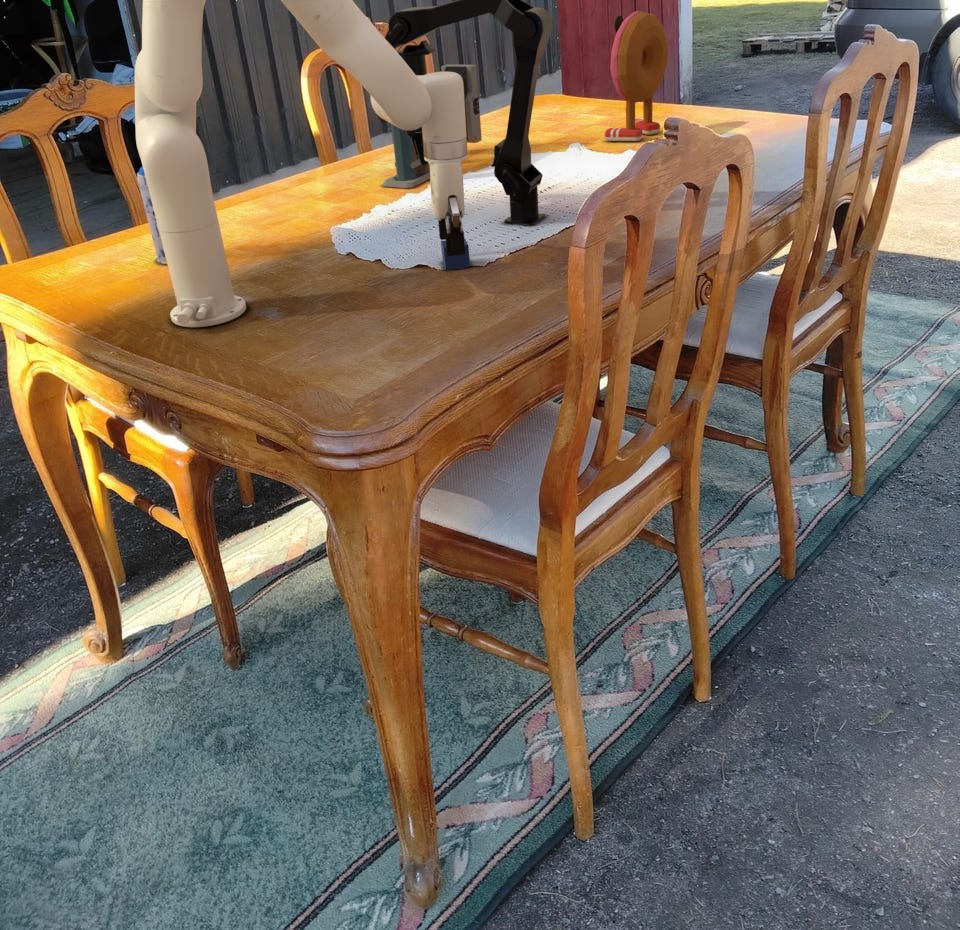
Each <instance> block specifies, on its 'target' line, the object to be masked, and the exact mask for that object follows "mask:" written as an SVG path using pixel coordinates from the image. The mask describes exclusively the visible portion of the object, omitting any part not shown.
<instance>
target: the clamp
mask: <svg viewBox="0 0 960 930" xmlns="http://www.w3.org/2000/svg"><path fill="white" fill-rule="evenodd" d="M440 68H441V72H455V73H458V74H459V75H460V76H461V77H462V79H463V86H464V102H465V119H466V137H467V144H468V143H469V144H477V143H479V142H481V141H482V140H483V139H482V124H481V111H480V110H481V109H480V98H479V95H480V94H479V82H478V67H477V64H444V65H441V67H440ZM390 127H391V136H392V145H393V153H394V161H395V162H394V166H395V170H396V174H394V175H392V176H391V177H389V178H386V179H384V180H383V183H382V187H386V188H387V187H389V188H402V189H409V188H415V187H417V186H418V185H421V184H423V183H424V182H426V181H428V180H430V162H427V164H426V165H421V162H420V159H419V155H416V152H415V149H414V146H413V142H412V139H411V137H410V136H408V135H407V133H406V130H402V129H400V128H398V127H396V126H395V125H393V124H391V123H390Z"/></svg>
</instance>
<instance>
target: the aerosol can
mask: <svg viewBox="0 0 960 930" xmlns="http://www.w3.org/2000/svg"><path fill="white" fill-rule="evenodd" d="M136 176H137V177H136V179H137V184H138V187H139V192H140V196H141V199H142V203H143V207H144V211H145V215H146V219H147V223H148V227H149V232H150V235H151V239H152V243H153V247H154V251H155V255H156V262H157V263H158V264H162V265H168V264H167V260H166V256H165V252H164V248H163V244H162V240H161V236H160V232H159V229H158V225H157V221H156V217H155V213H154V209H153V205H152V201H151V197H150V193H149V189H148V184H147V180H146V177H145V173H144V169H143V166H141V167H140V168H139V171H138V172H137V173H136Z"/></svg>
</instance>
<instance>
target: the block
mask: <svg viewBox="0 0 960 930" xmlns="http://www.w3.org/2000/svg"><path fill="white" fill-rule="evenodd" d="M464 242H465V254H463V255H454V256H448V255H447V249H446V240H440V247H441V258H442V264H443V266H444V269H445V270H446V271H448V270H459V269H465V268H471V260H470V247H469V244H468V241H467V240H466V238H465V237H464Z"/></svg>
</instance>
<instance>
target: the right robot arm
mask: <svg viewBox="0 0 960 930" xmlns="http://www.w3.org/2000/svg"><path fill="white" fill-rule="evenodd" d="M487 14H490V15H492V16H493V17H495V19H497V20H498V22H499V23H500V24H502V26H504V27H505V28H506V29H508V30H509V31H511V32H512V42H513V43H512V44H513V45H512V46H513V50H514V56H515V68H514V76H513V83H512V90H511V91H512V92H511V98H510V105H509V114H508V121H507V126H506V127H507V128H506V134H505V138H504V139H502V140H501V141H500V142H498V143H496V144H495V145H494V148H493V162H492V164H491V168H493V174H494V177H495V178H496V180H497V181H498V182H499V183H500V184H501V186H502V188H503V191H504V193H505V195H506V196H509V213H510V214H509V215H510V216H509V217H507V218H505V219H504V221H503V222H504V223H505V224H514V225H515V224H516V225H527V226H533V225H535V224H537V223H538V222H540V221H541V220H542V219H544V218H545V217H546V213H539V211H540V210H539V190H538V186H540V185H541V183H542V179H543V175H544V174H543V173H542V172H541V171H540V170H539V169H538V168H537V167H536V166H535V165H534V164H533V163H532V148H531V144H530V138H529V135H530V129H531V128H530V127H531V123H532V115H533V108H534V102H535V95H536V88H537V82H538V73H539V69H540V68H539V67H540V63H541V59H542V57H543V56H544V53H545V51H546V49H547V45H548V43H549V40H550V37H551V34H552V31H553V26H554V22H553V20H554V19H553V17H552V16H551V14H550V12H549V11H548V10H547V9H545V8H543V7H539V6H537V7H536V6H533V5H531V4H530V3H529V2H527V1H525V0H453V1H450V2H447V3H443V4H439V5H433V6H431V5H430V6H414V7H408V8H404V9H401V10H398V11H396V12H394V13H392V15H390V18H389V21H388V25H387V26H388V29H387V32H386V34H385V36H384V38H385V39H386V40H387V41H388V42H389V44H390V45H391V46H392V47H393V48H394V49H395V50H396V49H397V48H400V47H402V46H404V48H403V50H402V49H401V50H396V51H397V53H398V54H399V55H400V56H401V57H402V59H403V60H404V61H405V62H406V63H407V65H408V66H409V67H410V68H411V70H412V71H413V72H414V74H415V75H425V74H428V71H427V60H426V59H427V58H426V56H428V55H430V54H433V53H435V52H436V48H435V47H434V46H432V45H431V44H430V43H429V42H428V40H427V39H424V40H422V41H421V40H420V43H419V44H409V43H411V42H413V41H416V40H419V39H421V38H423V37H425V36H427V35H429V34H431V33H432V32H434V31H436V30H437V29H439V28H442V27H445V26H449V25H452V24H455V23H459V22H462V21H467V20H469V19H473V18H476V17H480V16H483V15H487ZM374 113H375V115H376V117H377V119H378V121H379V123H380V124H384V123H387V121H385V120H384V119H382V118H381V117H380V116H378V115H377V114H376V112H375V111H374ZM406 133H407V135H408V136H410V137H411V139H412V142H413V146H414V149H415V152H416V155H419V159H420V162H421V165H426V164H427V161H425V160H424V147H423V134H422V127H420V128H418V129H416V130H406Z"/></svg>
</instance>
